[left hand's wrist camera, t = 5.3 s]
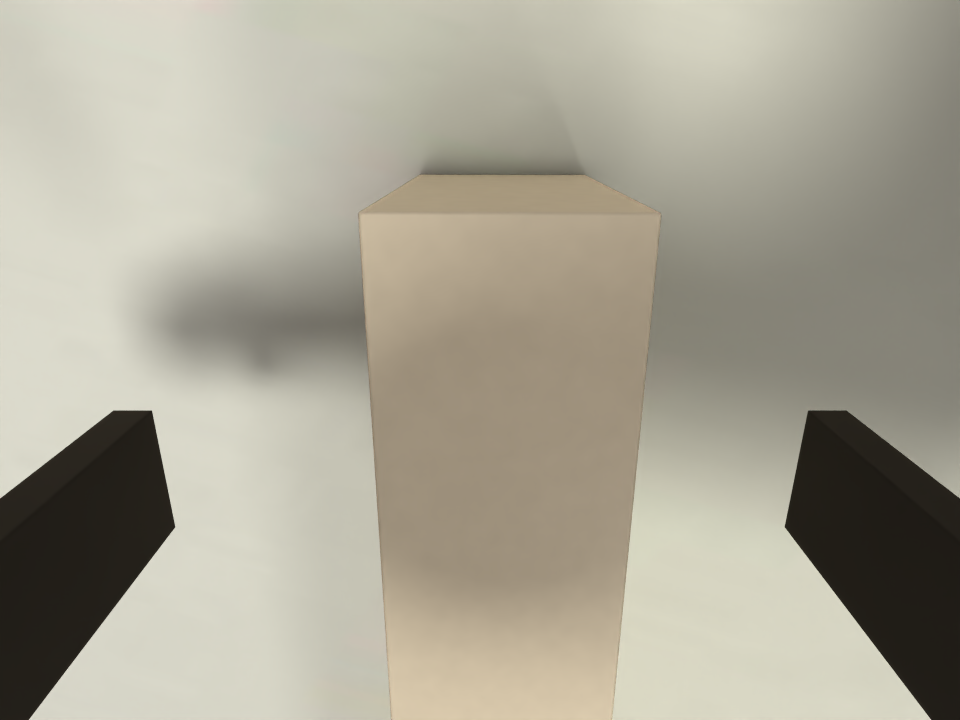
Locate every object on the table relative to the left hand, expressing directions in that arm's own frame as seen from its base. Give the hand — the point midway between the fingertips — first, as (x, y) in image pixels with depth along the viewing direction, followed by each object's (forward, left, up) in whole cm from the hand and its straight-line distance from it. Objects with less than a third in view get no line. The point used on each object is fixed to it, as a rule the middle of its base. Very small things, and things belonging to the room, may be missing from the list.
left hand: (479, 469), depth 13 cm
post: (+7, +22, -7) cm, 24 cm away
